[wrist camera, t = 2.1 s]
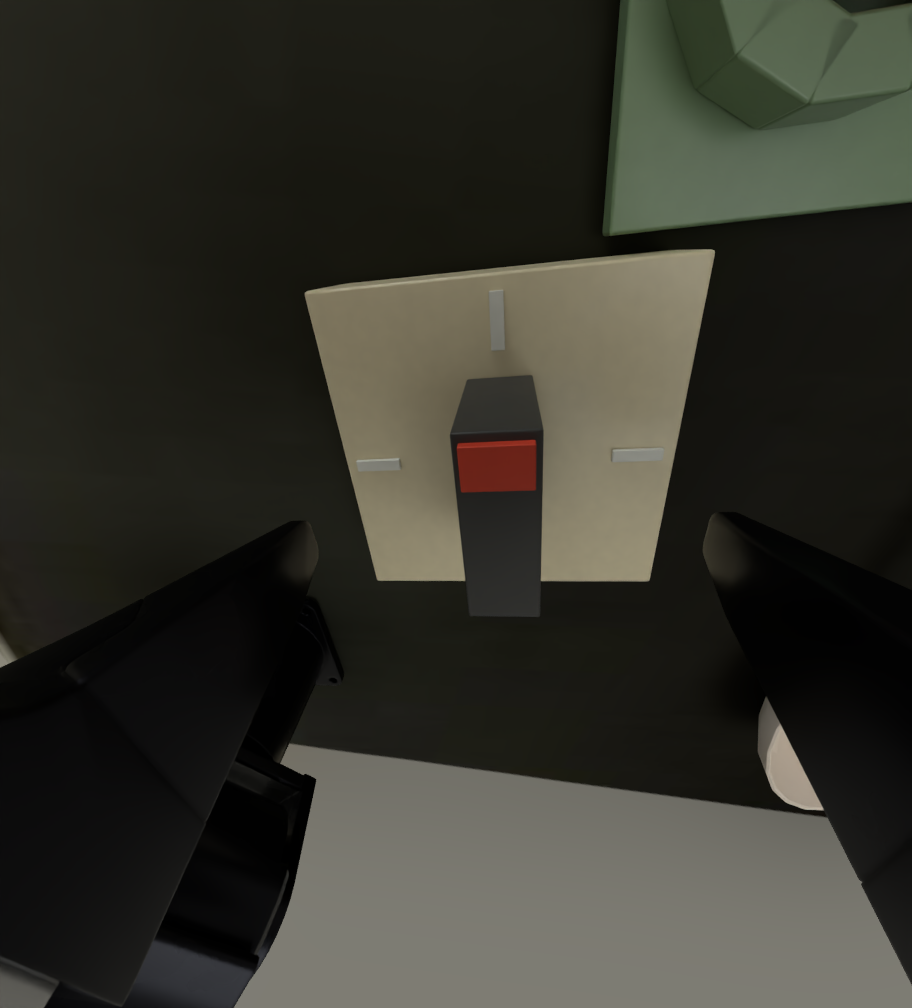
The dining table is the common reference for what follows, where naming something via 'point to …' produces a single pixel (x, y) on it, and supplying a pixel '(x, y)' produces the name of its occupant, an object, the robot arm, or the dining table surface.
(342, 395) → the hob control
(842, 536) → the dining table surface
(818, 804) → the ladle
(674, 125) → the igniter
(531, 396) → the hob knob
